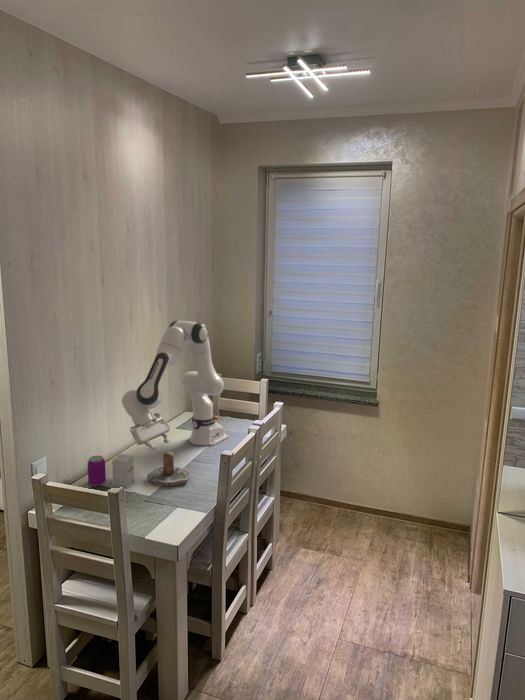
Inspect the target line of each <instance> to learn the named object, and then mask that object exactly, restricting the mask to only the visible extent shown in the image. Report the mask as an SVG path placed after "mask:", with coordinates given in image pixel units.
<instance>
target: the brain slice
mask: <svg viewBox="0 0 525 700" xmlns="http://www.w3.org/2000/svg"><path fill="white" fill-rule="evenodd" d="M146 479H147V482H148V483H149V484H151V485H152V486H159V487H175V486H182V485H184V484H186V483H187V482H188V481H189V479H190V472H189V471H187V470H186V469H184V468H182V467H180V466H176V465H174V474H173V475H172V476H164V475H163V466H159V467H157V468H155V469H153V470H152V471H150V472H149V473H147V475H146Z"/></svg>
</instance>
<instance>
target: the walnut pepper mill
mask: <svg viewBox="0 0 525 700" xmlns="http://www.w3.org/2000/svg"><path fill="white" fill-rule="evenodd" d="M162 455H163V461H162V463H163V465H162V467H163V475H164V476H172V475H173V474H174V466H175V453H174V452H172V451H165V452H163V454H162Z"/></svg>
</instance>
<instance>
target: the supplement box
mask: <svg viewBox="0 0 525 700" xmlns="http://www.w3.org/2000/svg"><path fill="white" fill-rule="evenodd" d="M134 459H135V458H134V455H129V454H122V453H120V454H118V455H117V456H116V457H115V458H113V459H112V460H111V464H112V465H111V467H112V468H111V469H112V471H111V472H112V473H111V474H112V486H113V487H119V488H126V489H127V488H128V487H129V486H130V485H131V484H132V483H133V482H134V481H135V460H134Z"/></svg>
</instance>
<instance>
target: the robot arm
mask: <svg viewBox="0 0 525 700" xmlns="http://www.w3.org/2000/svg"><path fill="white" fill-rule="evenodd" d="M184 343H186V344H187V343H188V344H189V345H188V346H189V358H190V359H189V360H190V364H191V366H192V368H193V369H195V370H194V371H193V370H192V371H187V372H185V374H184V375H183V379H182V384H183V386H184V388H185V389H186V391H188V393H189V395H190V399H191V403H192V416H191V425H192V426H191V434H190V438H189V442H190V443H191V444H192V445H195V446H196V445H197V446H215V445H217V444H219V443H221V442H222V441H224V440H227V439H229V435H228V434H227V433H225V431H224V427H223V426H222V425H221V424H220V423H218V422H217V421H218V420H219V416H217V415H214V405H213V401H212V400H211V399H210V398H209V396H219V395H221V394H222V392H223V391H224V386H225V382H224V381H223V379H222V378H221V376H219V374H218V373H217V371H216V369H215V367H214V365H213V361H212V360H213V359H212V353H211V345H210V340H209V330H208V328H207V326H206V324H203V323H201V322H196V321H193V320H174V321H172V322H171V323H170V324H169V325H168V327H167V328H166V331H164V333H163V335H162V337H161V340H160V342H159V345H158V347H157V349H156V353H155V357H154V360H153V362H152V365H151V366H150V369H149V371H148V373H147V375H146V378H145V379H144V381H143V382H142V383H141V384H140V385H139V386H138V387H137V389H136V390H133V389H131V390H128V391H127V392H126V393H125V394H124V395H123V396H122V398H121V403H122V406H123V408H124V410H125V412H126V413H127V415H128V416H129V417H131V420H132V422H133V424H134V425H133V426H131V427H130V428H129V431H130V434H131V435H132V438H133V440H134V442H135V443H136V445H138V446H141V445H143V444H144V445H145V446H146V447H148V448H149V449H150V450H151V451H152V450H155V449H156V446H155V444H152V443H151V442H150V441H152V440H154V439H156V438H159V437H162V438H163V442H164V444H167V443H169V442H170V440H169V438H168V433H169V431H170V430H171V427H170V425H169V424H168V422H167V421H166V420H165V418H163V417H162V416H163V415H162V413H160V412H151V411H150V410H152V409H154V408H156V407H158V406H159V405H160V404H161V402H162V400H163V396H162V395H163V394H162V393H161V391H160V389H159V385H160V382H161V380H162V377H163V376H164V372H165V371H166V369H167V368H168V367H170V366H173V365H174V364H176V362H177V361H178V359H179V357H180V355H181V352H182V349H183V345H184Z"/></svg>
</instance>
